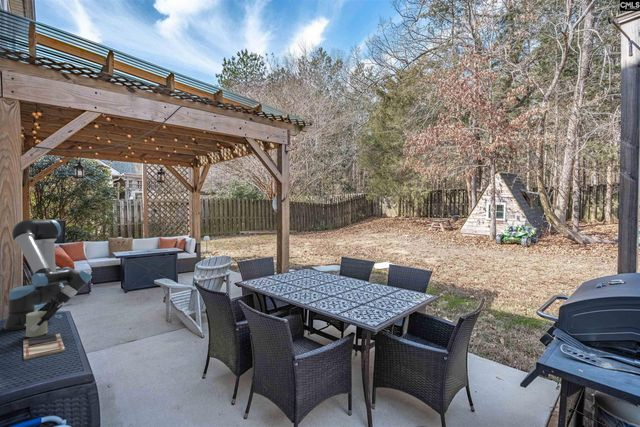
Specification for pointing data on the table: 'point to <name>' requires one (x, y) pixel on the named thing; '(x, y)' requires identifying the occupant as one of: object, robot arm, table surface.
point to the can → (31, 320)
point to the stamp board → (42, 346)
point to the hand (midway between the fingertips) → (29, 328)
